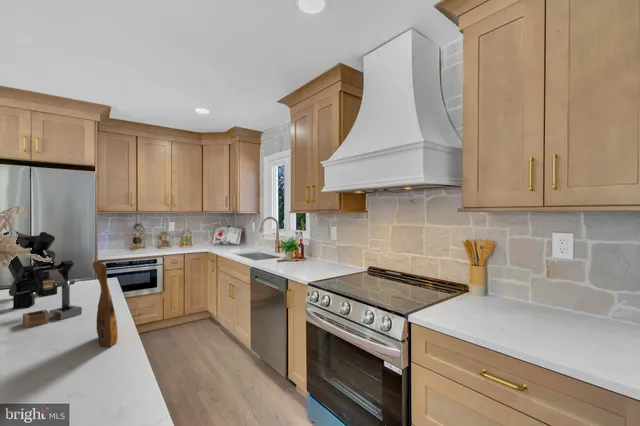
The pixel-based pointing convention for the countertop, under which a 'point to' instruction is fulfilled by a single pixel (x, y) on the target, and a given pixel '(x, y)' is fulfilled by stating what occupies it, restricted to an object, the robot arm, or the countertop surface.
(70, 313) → the block
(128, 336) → the countertop surface
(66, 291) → the chuck key
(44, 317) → the wooden square frame
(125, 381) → the countertop surface
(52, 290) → the cordless drill
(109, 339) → the curved wooden sculpture
